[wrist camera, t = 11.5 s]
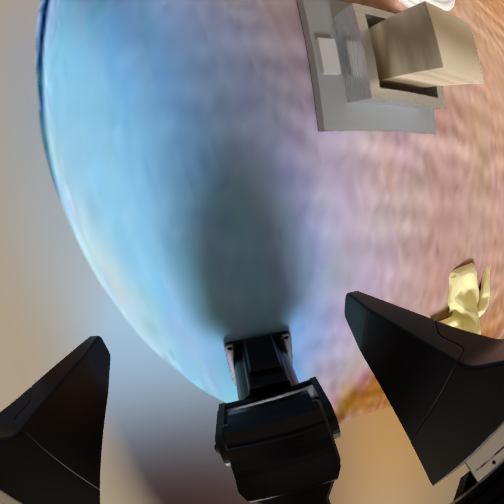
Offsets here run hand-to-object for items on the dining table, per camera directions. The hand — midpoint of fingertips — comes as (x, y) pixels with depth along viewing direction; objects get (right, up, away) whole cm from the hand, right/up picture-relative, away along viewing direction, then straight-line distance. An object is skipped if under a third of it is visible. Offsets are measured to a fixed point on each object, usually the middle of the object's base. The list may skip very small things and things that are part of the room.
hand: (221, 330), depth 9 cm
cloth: (+32, -6, +23) cm, 40 cm away
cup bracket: (+12, +18, +7) cm, 23 cm away
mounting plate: (+11, +18, +8) cm, 23 cm away
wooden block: (+11, +18, +7) cm, 23 cm away
